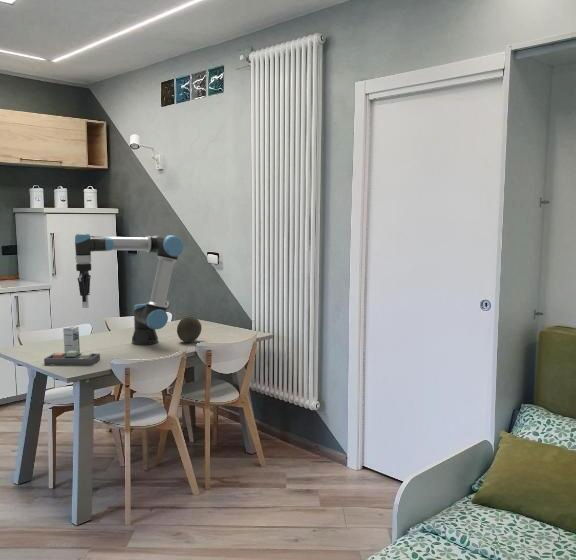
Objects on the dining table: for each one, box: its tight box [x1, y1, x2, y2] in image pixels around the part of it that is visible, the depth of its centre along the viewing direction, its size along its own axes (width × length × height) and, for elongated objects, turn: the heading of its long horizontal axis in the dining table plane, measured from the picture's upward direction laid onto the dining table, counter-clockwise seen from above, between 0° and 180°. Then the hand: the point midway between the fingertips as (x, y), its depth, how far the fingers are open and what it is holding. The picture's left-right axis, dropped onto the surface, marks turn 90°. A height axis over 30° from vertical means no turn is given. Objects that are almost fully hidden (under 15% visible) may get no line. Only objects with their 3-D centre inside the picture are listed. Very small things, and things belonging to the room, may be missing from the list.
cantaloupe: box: [176, 316, 202, 344], centre depth 349 cm, size 14×14×15 cm
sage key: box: [66, 351, 78, 357], centre depth 302 cm, size 4×4×2 cm
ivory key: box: [80, 352, 92, 359], centre depth 301 cm, size 4×4×2 cm
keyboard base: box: [43, 352, 101, 366], centre depth 302 cm, size 24×12×4 cm, turn 88°
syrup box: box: [62, 325, 81, 353], centre depth 320 cm, size 6×6×14 cm
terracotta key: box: [53, 352, 65, 358], centre depth 302 cm, size 4×4×2 cm
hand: (85, 307), depth 313 cm, fingers closed
